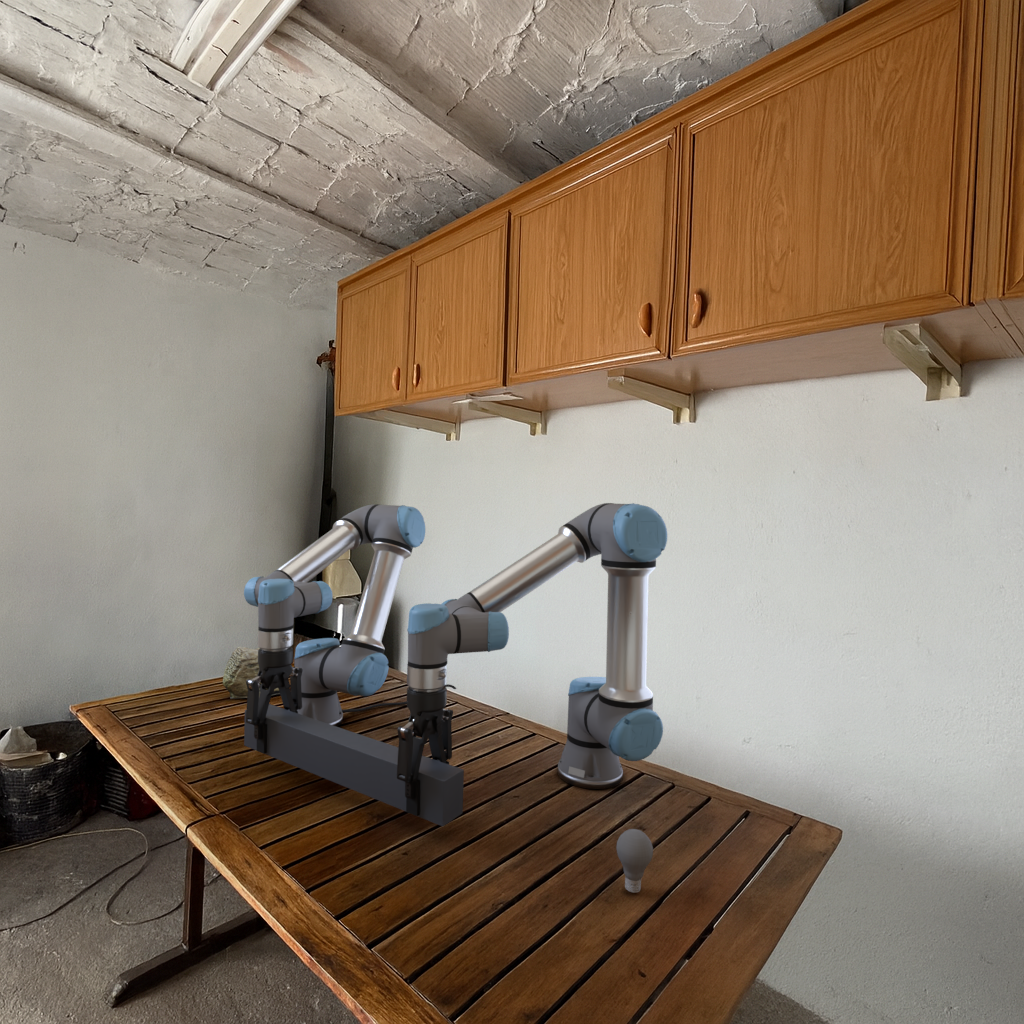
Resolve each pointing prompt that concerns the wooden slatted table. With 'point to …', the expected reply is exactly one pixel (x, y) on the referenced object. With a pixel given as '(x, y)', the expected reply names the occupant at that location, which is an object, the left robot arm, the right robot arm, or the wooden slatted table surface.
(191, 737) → the wooden slatted table surface
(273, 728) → the bar
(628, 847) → the light bulb
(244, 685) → the fossil
